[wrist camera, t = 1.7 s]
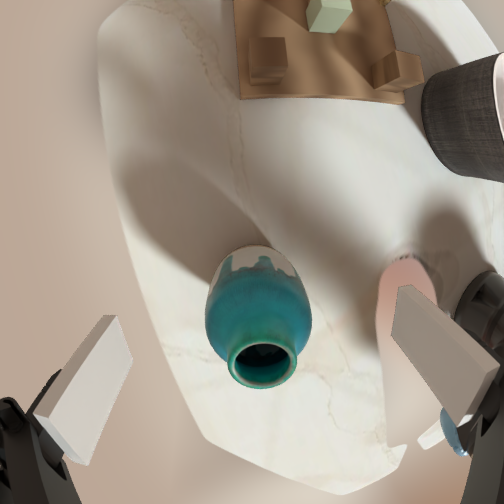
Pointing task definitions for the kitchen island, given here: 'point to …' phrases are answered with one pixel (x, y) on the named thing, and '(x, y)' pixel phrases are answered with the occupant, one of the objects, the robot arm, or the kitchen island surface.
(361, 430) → the kitchen island surface
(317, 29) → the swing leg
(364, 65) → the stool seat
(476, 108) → the planter
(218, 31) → the kitchen island surface
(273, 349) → the vase
